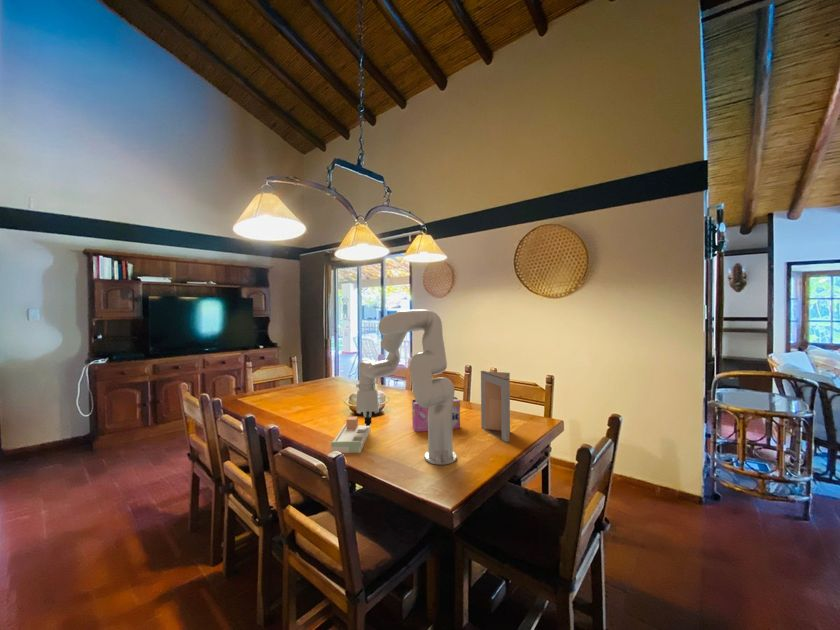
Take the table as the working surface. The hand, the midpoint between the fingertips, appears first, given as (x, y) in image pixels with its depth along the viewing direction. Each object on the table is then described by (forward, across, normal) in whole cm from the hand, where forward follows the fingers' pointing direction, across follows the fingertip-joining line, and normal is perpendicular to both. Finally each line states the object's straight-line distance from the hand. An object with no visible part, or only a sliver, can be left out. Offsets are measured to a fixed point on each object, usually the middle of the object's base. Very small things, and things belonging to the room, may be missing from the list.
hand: (368, 425), depth 165 cm
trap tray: (+4, -6, -10) cm, 12 cm away
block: (+1, -8, 0) cm, 8 cm away
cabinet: (+4, +63, -3) cm, 63 cm away
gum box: (+4, +32, +6) cm, 33 cm away
